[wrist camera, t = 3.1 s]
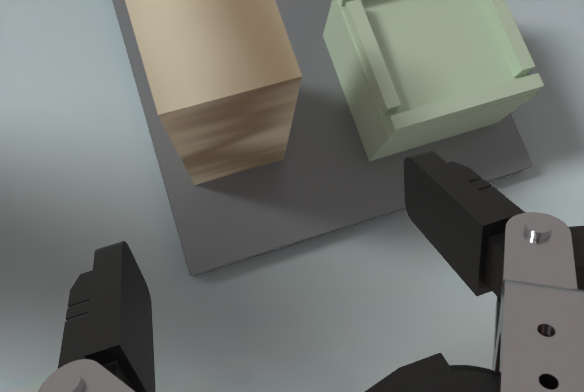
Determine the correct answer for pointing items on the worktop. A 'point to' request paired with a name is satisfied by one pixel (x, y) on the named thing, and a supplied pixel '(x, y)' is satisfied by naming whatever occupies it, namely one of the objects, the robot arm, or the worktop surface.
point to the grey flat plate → (302, 161)
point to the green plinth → (427, 68)
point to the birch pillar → (219, 80)
